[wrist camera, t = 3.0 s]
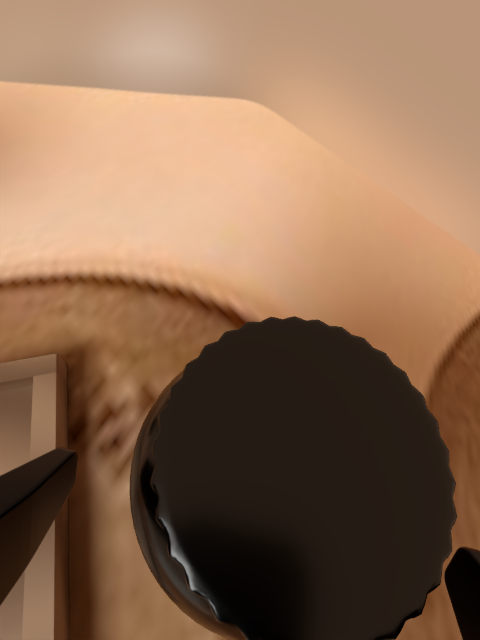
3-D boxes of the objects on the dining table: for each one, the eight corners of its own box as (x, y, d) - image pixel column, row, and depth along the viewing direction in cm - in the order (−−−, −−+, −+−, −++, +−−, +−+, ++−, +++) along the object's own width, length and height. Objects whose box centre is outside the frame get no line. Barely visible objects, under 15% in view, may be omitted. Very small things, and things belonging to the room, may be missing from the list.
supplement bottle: (256, 383, 18) (343, 228, 7) (330, 503, 15) (627, 536, 5) (139, 449, 15) (14, 362, 5) (204, 602, 13) (237, 1102, 2)
